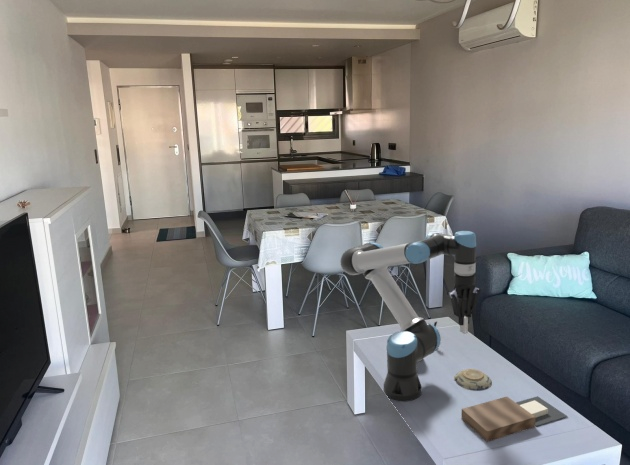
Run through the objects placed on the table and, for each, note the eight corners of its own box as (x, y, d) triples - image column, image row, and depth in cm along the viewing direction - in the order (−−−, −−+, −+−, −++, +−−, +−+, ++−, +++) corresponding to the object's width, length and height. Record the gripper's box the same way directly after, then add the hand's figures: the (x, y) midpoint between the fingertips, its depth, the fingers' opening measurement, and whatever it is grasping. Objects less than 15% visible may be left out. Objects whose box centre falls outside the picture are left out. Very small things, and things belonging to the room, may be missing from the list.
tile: (528, 420, 169) (528, 415, 169) (515, 411, 175) (515, 406, 174) (547, 413, 173) (547, 408, 172) (534, 405, 178) (534, 400, 178)
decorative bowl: (500, 386, 193) (476, 369, 207) (500, 378, 192) (476, 361, 206) (468, 395, 188) (446, 376, 202) (468, 387, 188) (446, 369, 201)
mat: (536, 426, 166) (536, 425, 166) (507, 405, 179) (507, 404, 179) (567, 417, 171) (567, 416, 170) (537, 397, 184) (537, 396, 183)
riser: (487, 441, 160) (487, 431, 159) (461, 418, 173) (461, 409, 172) (534, 427, 166) (535, 416, 165) (506, 406, 179) (507, 396, 178)
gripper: (455, 278, 172) (455, 339, 177) (486, 273, 176) (484, 332, 181) (443, 272, 178) (443, 331, 184) (473, 267, 183) (471, 325, 188)
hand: (463, 332), depth 182 cm, fingers closed
